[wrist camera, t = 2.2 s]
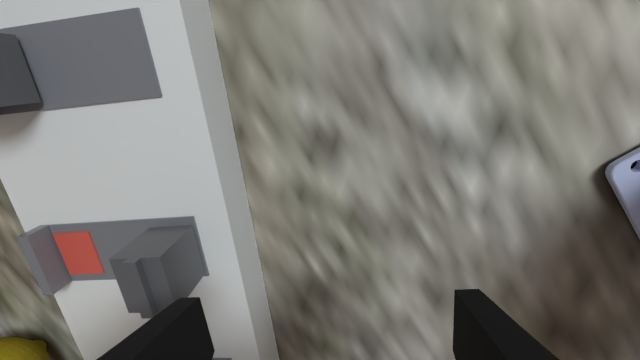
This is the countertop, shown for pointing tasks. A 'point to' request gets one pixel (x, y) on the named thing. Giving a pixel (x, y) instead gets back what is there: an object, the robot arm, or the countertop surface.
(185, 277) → the switch middle
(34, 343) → the lemon
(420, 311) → the countertop surface
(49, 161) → the switch panel
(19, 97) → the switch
